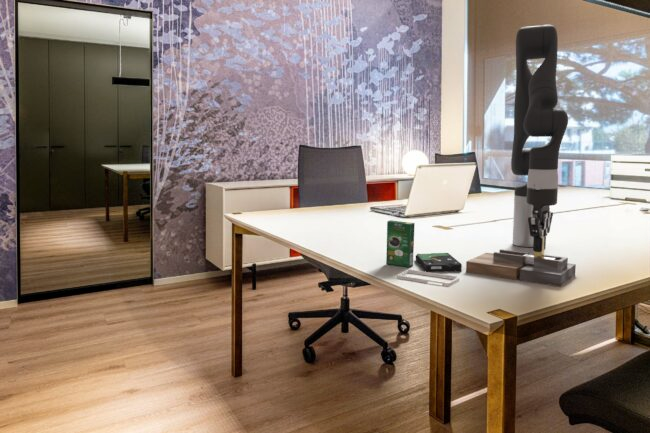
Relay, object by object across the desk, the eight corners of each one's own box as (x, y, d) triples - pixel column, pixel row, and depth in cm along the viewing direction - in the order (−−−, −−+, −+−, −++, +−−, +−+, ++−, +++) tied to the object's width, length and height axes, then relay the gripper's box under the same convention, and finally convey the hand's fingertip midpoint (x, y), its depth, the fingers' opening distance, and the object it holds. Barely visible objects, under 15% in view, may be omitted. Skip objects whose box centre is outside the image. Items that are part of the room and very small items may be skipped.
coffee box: (414, 265, 155) (415, 222, 153) (410, 267, 153) (410, 223, 151) (390, 262, 160) (390, 219, 158) (385, 264, 158) (386, 221, 156)
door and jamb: (485, 262, 158) (486, 244, 158) (575, 275, 143) (576, 255, 142) (466, 271, 148) (466, 252, 147) (560, 286, 132) (561, 265, 131)
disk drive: (462, 273, 148) (447, 260, 163) (462, 264, 148) (448, 252, 163) (426, 274, 148) (414, 261, 163) (426, 265, 148) (414, 252, 162)
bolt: (525, 261, 145) (526, 234, 144) (555, 265, 140) (556, 237, 139) (521, 263, 143) (523, 235, 142) (552, 267, 138) (554, 238, 137)
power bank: (459, 281, 140) (408, 273, 148) (460, 276, 140) (408, 269, 148) (449, 288, 134) (396, 279, 142) (449, 283, 134) (396, 274, 142)
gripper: (536, 183, 146) (533, 244, 149) (518, 187, 136) (515, 253, 138) (564, 185, 142) (561, 248, 144) (549, 189, 131) (545, 257, 134)
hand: (539, 250), depth 141 cm, fingers closed on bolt, 2 cm apart
